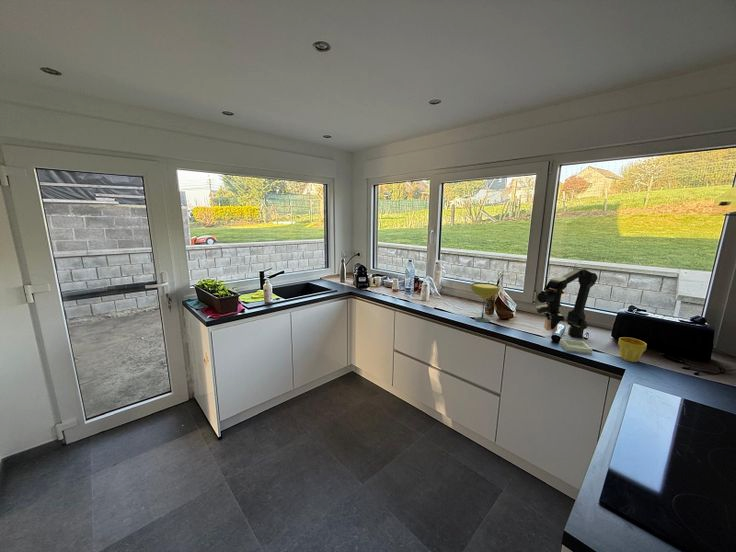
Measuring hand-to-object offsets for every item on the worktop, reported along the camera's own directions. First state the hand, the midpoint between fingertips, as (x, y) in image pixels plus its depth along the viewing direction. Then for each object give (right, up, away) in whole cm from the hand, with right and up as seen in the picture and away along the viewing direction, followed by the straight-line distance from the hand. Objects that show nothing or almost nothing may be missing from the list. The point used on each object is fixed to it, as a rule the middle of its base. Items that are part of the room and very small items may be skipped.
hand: (550, 327), depth 166 cm
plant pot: (+27, -13, -20) cm, 36 cm away
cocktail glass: (-25, -1, +35) cm, 44 cm away
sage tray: (+7, -10, -10) cm, 16 cm away
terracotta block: (0, -1, 0) cm, 1 cm away
